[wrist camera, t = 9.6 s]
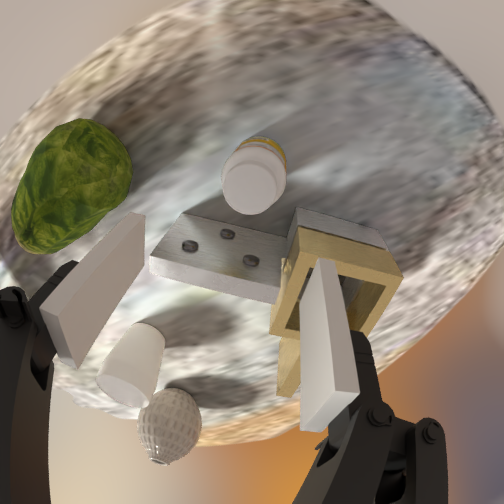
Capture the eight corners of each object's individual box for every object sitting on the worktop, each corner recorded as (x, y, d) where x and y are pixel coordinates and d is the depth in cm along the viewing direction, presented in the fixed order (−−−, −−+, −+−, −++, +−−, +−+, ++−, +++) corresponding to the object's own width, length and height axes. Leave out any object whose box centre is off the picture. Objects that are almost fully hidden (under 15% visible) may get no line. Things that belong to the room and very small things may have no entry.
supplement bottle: (260, 194, 31) (250, 237, 23) (223, 161, 30) (198, 190, 21) (296, 161, 29) (302, 191, 20) (259, 124, 27) (247, 139, 19)
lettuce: (30, 195, 34) (-20, 229, 24) (105, 97, 26) (37, 110, 17) (72, 251, 38) (29, 296, 29) (160, 171, 31) (108, 211, 21)
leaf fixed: (177, 255, 36) (149, 303, 28) (185, 180, 31) (151, 215, 23) (346, 295, 37) (358, 350, 29) (377, 229, 32) (403, 277, 23)
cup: (134, 307, 42) (101, 365, 32) (181, 338, 45) (159, 399, 34) (117, 333, 47) (89, 384, 36) (159, 359, 49) (138, 413, 39)
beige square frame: (253, 337, 43) (246, 389, 34) (296, 206, 31) (299, 251, 23) (316, 349, 43) (318, 401, 35) (377, 229, 32) (403, 277, 23)
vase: (153, 400, 59) (133, 460, 44) (146, 371, 52) (119, 441, 38) (207, 414, 58) (192, 477, 44) (208, 387, 52) (190, 463, 37)
